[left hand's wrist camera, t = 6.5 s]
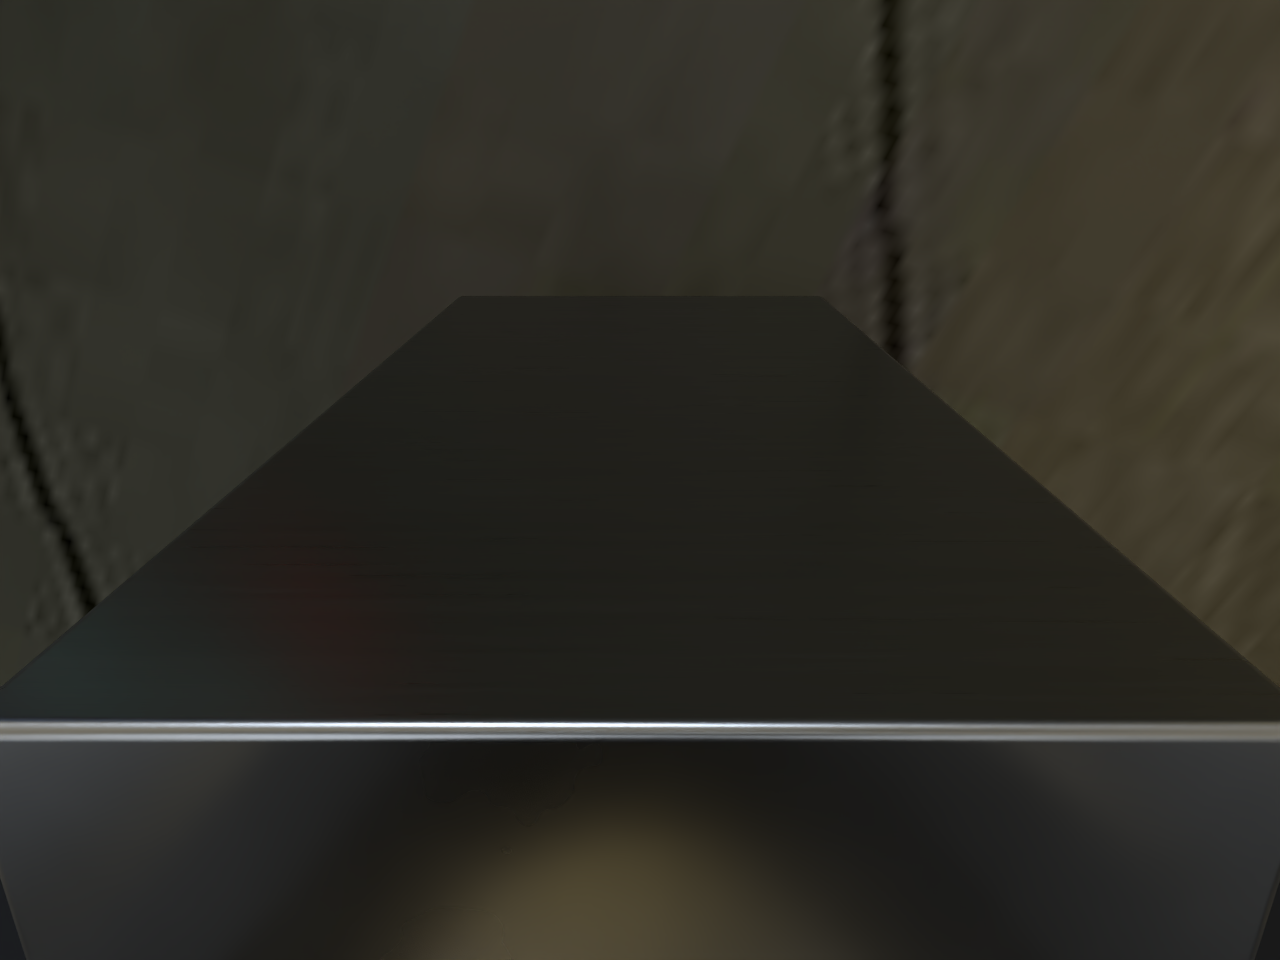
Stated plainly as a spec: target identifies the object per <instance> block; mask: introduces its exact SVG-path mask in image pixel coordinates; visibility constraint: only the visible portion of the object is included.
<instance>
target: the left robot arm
mask: <svg viewBox="0 0 1280 960" xmlns="http://www.w3.org/2000/svg"><path fill="white" fill-rule="evenodd" d="M0 960H26V957H25V954H24V951H23V947H22V944H21V941H20V938H19V935H18V932H17V929H16V926H15V922H14V919H13V916H12V913H11V910H10V907H9V904H8V901H7V897H6V894H5V891H4V888H3V885H2V882H1V879H0ZM1255 960H1280V882H1279V885H1278V888H1277V891H1276V894H1275V897H1274V900H1273V904H1272V907H1271V910H1270V913H1269V916H1268V919H1267V922H1266V925H1265V928H1264V932H1263V935H1262V938H1261V941H1260V944H1259V947H1258V950H1257V953H1256V956H1255Z"/></svg>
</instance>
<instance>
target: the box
mask: <svg viewBox="0 0 1280 960" xmlns="http://www.w3.org/2000/svg"><path fill="white" fill-rule="evenodd" d="M0 879H1V882H2V885H3V888H4V891H5V894H6V897H7V901H8V904H9V907H10V910H11V913H12V916H13V919H14V922H15V926H16V929H17V932H18V935H19V938H20V941H21V944H22V947H23V951H24V954H25V957H26V960H1255V956H1256V953H1257V950H1258V947H1259V944H1260V941H1261V938H1262V935H1263V932H1264V928H1265V925H1266V922H1267V919H1268V916H1269V913H1270V910H1271V907H1272V904H1273V900H1274V897H1275V894H1276V891H1277V888H1278V885H1279V882H1280V687H1278V686H1277V685H1276V684H1275V683H1274V682H1272V681H1271V680H1270V679H1269V678H1268V677H1267V676H1265V675H1264V674H1263V673H1262V672H1261V671H1260V670H1258V669H1257V668H1256V667H1255V666H1254V665H1253V664H1251V663H1250V662H1249V661H1248V660H1247V659H1245V658H1244V657H1243V656H1242V655H1241V654H1240V653H1238V652H1237V651H1236V650H1235V649H1234V648H1233V647H1231V646H1230V645H1229V644H1228V643H1227V642H1226V641H1224V640H1223V639H1222V638H1221V637H1220V636H1219V635H1217V634H1216V633H1215V632H1214V631H1213V630H1211V629H1210V628H1209V627H1208V626H1207V625H1206V624H1204V623H1203V622H1202V621H1201V620H1200V619H1199V618H1197V617H1196V616H1195V615H1194V614H1193V613H1192V612H1190V611H1189V610H1188V609H1187V608H1186V607H1184V606H1183V605H1182V604H1181V603H1180V602H1179V601H1177V600H1176V599H1175V598H1174V597H1173V596H1172V595H1170V594H1169V593H1168V592H1167V591H1166V590H1165V589H1163V588H1162V587H1161V586H1160V585H1159V584H1158V583H1156V582H1155V581H1154V580H1153V579H1152V578H1150V577H1149V576H1148V575H1147V574H1146V573H1145V572H1143V571H1142V570H1141V569H1140V568H1139V567H1138V566H1136V565H1135V564H1134V563H1133V562H1132V561H1131V560H1129V559H1128V558H1127V557H1126V556H1125V555H1123V554H1122V553H1121V552H1120V551H1119V550H1118V549H1116V548H1115V547H1114V546H1113V545H1112V544H1111V543H1109V542H1108V541H1107V540H1106V539H1105V538H1104V537H1102V536H1101V535H1100V534H1099V533H1098V532H1096V531H1095V530H1094V529H1093V528H1092V527H1091V526H1089V525H1088V524H1087V523H1086V522H1085V521H1084V520H1082V519H1081V518H1080V517H1079V516H1078V515H1077V514H1075V513H1074V512H1073V511H1072V510H1071V509H1070V508H1068V507H1067V506H1066V505H1065V504H1064V503H1062V502H1061V501H1060V500H1059V499H1058V498H1057V497H1055V496H1054V495H1053V494H1052V493H1051V492H1050V491H1048V490H1047V489H1046V488H1045V487H1044V486H1043V485H1041V484H1040V483H1039V482H1038V481H1037V480H1035V479H1034V478H1033V477H1032V476H1031V475H1030V474H1028V473H1027V472H1026V471H1025V470H1024V469H1023V468H1021V467H1020V466H1019V465H1018V464H1017V463H1016V462H1014V461H1013V460H1012V459H1011V458H1010V457H1009V456H1007V455H1006V454H1005V453H1004V452H1003V451H1001V450H1000V449H999V448H998V447H997V446H996V445H994V444H993V443H992V442H991V441H990V440H989V439H987V438H986V437H985V436H984V435H983V434H982V433H980V432H979V431H978V430H977V429H976V428H974V427H973V426H972V425H971V424H970V423H969V422H967V421H966V420H965V419H964V418H963V417H962V416H960V415H959V414H958V413H957V412H956V411H955V410H953V409H952V408H951V407H950V406H949V405H947V404H946V403H945V402H944V401H943V400H942V399H940V398H939V397H938V396H937V395H936V394H935V393H933V392H932V391H931V390H930V389H929V388H928V387H926V386H925V385H924V384H923V383H922V382H921V381H919V380H918V379H917V378H916V377H915V376H913V375H912V374H911V373H910V372H909V371H908V370H906V369H905V368H904V367H903V366H902V365H901V364H899V363H898V362H897V361H896V360H895V359H894V358H892V357H891V356H890V355H889V354H888V353H886V352H885V351H884V350H883V349H882V348H881V347H879V346H878V345H877V344H876V343H875V342H874V341H872V340H871V339H870V338H869V337H868V336H867V335H865V334H864V333H863V332H862V331H861V330H860V329H858V328H857V327H856V326H855V325H854V324H852V323H851V322H850V321H849V320H848V319H847V318H845V317H844V316H843V315H842V314H841V313H840V312H838V311H837V310H836V309H835V308H834V307H833V306H831V305H830V304H829V303H828V302H827V301H825V300H824V299H823V298H822V297H819V296H462V297H459V298H458V299H457V300H455V301H454V302H453V303H452V304H451V305H450V306H448V307H447V308H446V309H445V310H444V311H443V312H441V313H440V314H439V315H438V316H437V317H435V318H434V319H433V320H432V321H431V322H430V323H428V324H427V325H426V326H425V327H424V328H423V329H421V330H420V331H419V332H418V333H417V334H415V335H414V336H413V337H412V338H411V339H410V340H408V341H407V342H406V343H405V344H404V345H403V346H401V347H400V348H399V349H398V350H397V351H395V352H394V353H393V354H392V355H391V356H390V357H388V358H387V359H386V360H385V361H384V362H383V363H381V364H380V365H379V366H378V367H377V368H376V369H374V370H373V371H372V372H371V373H370V374H368V375H367V376H366V377H365V378H364V379H363V380H361V381H360V382H359V383H358V384H357V385H356V386H354V387H353V388H352V389H351V390H350V391H348V392H347V393H346V394H345V395H344V396H343V397H341V398H340V399H339V400H338V401H337V402H336V403H334V404H333V405H332V406H331V407H330V408H328V409H327V410H326V411H325V412H324V413H323V414H321V415H320V416H319V417H318V418H317V419H316V420H314V421H313V422H312V423H311V424H310V425H309V426H307V427H306V428H305V429H304V430H303V431H301V432H300V433H299V434H298V435H297V436H296V437H294V438H293V439H292V440H291V441H290V442H289V443H287V444H286V445H285V446H284V447H283V448H281V449H280V450H279V451H278V452H277V453H276V454H274V455H273V456H272V457H271V458H270V459H269V460H267V461H266V462H265V463H264V464H263V465H261V466H260V467H259V468H258V469H257V470H256V471H254V472H253V473H252V474H251V475H250V476H249V477H247V478H246V479H245V480H244V481H243V482H241V483H240V484H239V485H238V486H237V487H236V488H234V489H233V490H232V491H231V492H230V493H229V494H227V495H226V496H225V497H224V498H223V499H222V500H220V501H219V502H218V503H217V504H216V505H214V506H213V507H212V508H211V509H210V510H209V511H207V512H206V513H205V514H204V515H203V516H202V517H200V518H199V519H198V520H197V521H196V522H194V523H193V524H192V525H191V526H190V527H189V528H187V529H186V530H185V531H184V532H183V533H182V534H180V535H179V536H178V537H177V538H176V539H174V540H173V541H172V542H171V543H170V544H169V545H167V546H166V547H165V548H164V549H163V550H162V551H160V552H159V553H158V554H157V555H156V556H155V557H153V558H152V559H151V560H150V561H149V562H147V563H146V564H145V565H144V566H143V567H142V568H140V569H139V570H138V571H137V572H136V573H135V574H133V575H132V576H131V577H130V578H129V579H127V580H126V581H125V582H124V583H123V584H122V585H120V586H119V587H118V588H117V589H116V590H115V591H113V592H112V593H111V594H110V595H109V596H107V597H106V598H105V599H104V600H103V601H102V602H100V603H99V604H98V605H97V606H96V607H95V608H93V609H92V610H91V611H90V612H89V613H87V614H86V615H85V616H84V617H83V618H82V619H80V620H79V621H78V622H77V623H76V624H75V625H73V626H72V627H71V628H70V629H69V630H68V631H66V632H65V633H64V634H63V635H62V636H60V637H59V638H58V639H57V640H56V641H55V642H53V643H52V644H51V645H50V646H49V647H48V648H46V649H45V650H44V651H43V652H42V653H40V654H39V655H38V656H37V657H36V658H35V659H33V660H32V661H31V662H30V663H29V664H28V665H26V666H25V667H24V668H23V669H22V670H20V671H19V672H18V673H17V674H16V675H15V676H13V677H12V678H11V679H10V680H9V681H8V682H6V683H5V684H4V685H3V686H2V687H0Z"/></svg>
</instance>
